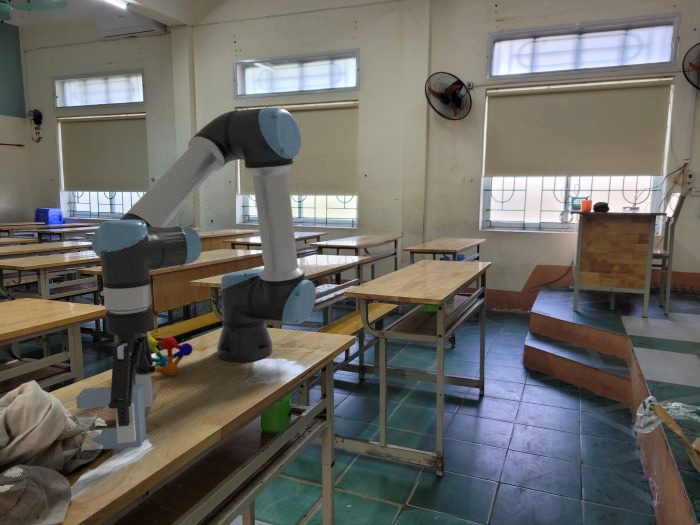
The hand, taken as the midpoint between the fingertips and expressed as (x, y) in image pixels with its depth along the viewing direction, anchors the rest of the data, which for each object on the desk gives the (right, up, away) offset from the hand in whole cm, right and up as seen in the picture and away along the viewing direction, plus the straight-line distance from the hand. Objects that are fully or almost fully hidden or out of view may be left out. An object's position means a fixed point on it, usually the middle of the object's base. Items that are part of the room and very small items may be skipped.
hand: (136, 422), depth 89 cm
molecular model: (-10, +1, +35) cm, 36 cm away
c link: (-4, -4, 0) cm, 5 cm away
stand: (-8, -1, +16) cm, 18 cm away
